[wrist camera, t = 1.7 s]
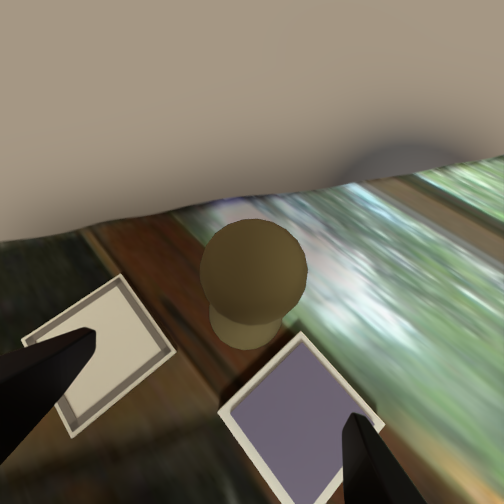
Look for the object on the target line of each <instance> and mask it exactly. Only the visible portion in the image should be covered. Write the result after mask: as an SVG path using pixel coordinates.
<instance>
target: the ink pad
mask: <svg viewBox="0 0 504 504" xmlns="http://www.w3.org/2000/svg"><path fill="white" fill-rule="evenodd" d="M352 412H356V413H359V414H362V415H365V416H366V417H367V418H368V420H369V421H370V422H371V424H372V425H373V427H374V428H375V430H376V431H377V432H378V433H379V432H380V431H381V429H382V428H383V427H384V425H385V424H384V422H383V421H382V420H381V419H380V418H379V417H378V416H377V415H376V414H375V412H374V411H373V410H372V409H371V408H370V407H369V406H368V405H367V404H366V402H365V401H364V400H363V399H362V398H361V397H360V396H359V395H358V394H357V392H356V391H355V390H354V389H353V388H352V387H351V386H350V385H349V384H348V382H347V381H346V380H345V379H344V378H343V377H342V376H341V375H340V374H339V372H338V371H337V370H336V369H335V368H334V367H333V366H332V365H331V364H330V362H329V361H328V360H327V359H326V358H325V357H324V356H323V355H322V354H321V352H320V351H319V350H318V349H317V348H316V347H315V346H314V345H313V344H312V342H311V341H310V340H309V339H308V338H307V337H306V336H305V335H304V334H303V332H302V331H300V332H298V333H297V334H296V335H295V336H294V337H293V338H292V339H291V340H290V341H289V342H288V343H287V344H286V345H285V346H284V347H283V348H282V349H281V350H280V351H279V352H278V353H277V354H276V355H274V356H273V357H272V358H271V359H270V360H269V361H268V362H267V363H266V364H265V365H264V366H263V367H262V368H261V369H260V370H259V371H258V372H257V373H256V374H255V375H254V376H253V377H252V378H251V379H250V380H249V381H248V382H247V383H246V384H245V385H244V386H242V387H241V388H240V389H239V390H238V391H237V392H236V393H235V394H234V395H233V396H232V397H231V398H230V399H229V400H228V401H227V402H226V403H225V404H224V405H223V406H222V407H221V408H220V409H219V410H218V414H219V415H220V417H221V418H222V420H223V421H224V422H225V424H226V425H227V427H228V428H229V429H230V431H231V432H232V434H233V435H234V437H235V438H236V439H237V441H238V442H239V444H240V445H241V446H242V448H243V449H244V451H245V452H246V454H247V455H248V456H249V458H250V459H251V461H252V462H253V463H254V465H255V466H256V468H257V469H258V470H259V472H260V473H261V475H262V476H263V478H264V479H265V480H266V482H267V483H268V485H269V486H270V487H271V489H272V490H273V492H274V493H275V495H276V496H277V497H278V499H279V500H280V502H281V503H282V504H325V503H326V502H327V501H328V499H329V498H330V497H331V495H332V494H333V493H334V492H335V490H336V489H337V488H338V486H339V485H340V484H341V482H342V481H343V463H342V430H343V427H344V425H345V423H346V421H347V419H348V418H349V416H350V414H351V413H352Z"/></svg>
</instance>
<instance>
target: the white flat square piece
mask: <svg viewBox="0 0 504 504" xmlns="http://www.w3.org/2000/svg"><path fill="white" fill-rule="evenodd" d="M81 327H87V328H91V329H94V330H95V331H96V350H95V353H94V354H93V356H92V357H91V359H90V360H89V361H88V363H87V364H86V365H85V367H84V368H83V369H82V371H81V372H80V373H79V375H78V376H77V377H76V379H75V380H74V381H73V383H72V384H71V385H70V387H69V388H68V389H67V391H66V392H65V393H64V394H63V396H62V397H61V398H60V399H59V400H58V402H57V403H56V404H55V405H54V406H55V408H56V410H57V411H58V413H59V415H60V417H61V419H62V421H63V423H64V425H65V427H66V429H67V431H68V433H69V435H70V437H71V438H74V437H75V436H76V435H77V434H79V433H80V432H81V431H82V430H83V429H85V428H86V427H87V426H88V425H90V424H91V423H92V422H93V421H94V420H96V419H97V418H98V417H99V416H100V415H102V414H103V413H104V412H105V411H106V410H108V409H109V408H110V407H111V406H112V405H114V404H115V403H116V402H117V401H118V400H120V399H121V398H122V397H123V396H125V395H126V394H127V393H128V392H129V391H131V390H132V389H133V388H134V387H135V386H137V385H138V384H139V383H140V382H141V381H143V380H144V379H145V378H146V377H147V376H149V375H150V374H151V373H152V372H153V371H155V370H156V369H157V368H158V367H160V366H161V365H162V364H163V363H164V362H166V361H167V360H168V359H169V358H170V357H172V356H173V355H174V354H175V353H176V352H177V351H176V350H175V349H174V347H173V346H172V344H171V343H170V342H169V340H168V339H167V337H166V336H165V335H164V333H163V332H162V330H161V329H160V327H159V326H158V325H157V323H156V322H155V320H154V319H153V318H152V316H151V315H150V313H149V312H148V311H147V309H146V308H145V306H144V305H143V304H142V302H141V301H140V299H139V298H138V296H137V295H136V294H135V292H134V291H133V289H132V288H131V287H130V285H129V284H128V282H127V281H126V280H125V278H124V277H123V275H122V274H119V275H118V276H116V277H115V278H113V279H112V280H110V281H109V282H107V283H106V284H104V285H103V286H101V287H99V288H98V289H96V290H95V291H93V292H92V293H90V294H89V295H87V296H86V297H84V298H83V299H81V300H80V301H78V302H77V303H75V304H74V305H72V306H71V307H69V308H68V309H66V310H65V311H63V312H62V313H60V314H59V315H57V316H56V317H54V318H53V319H51V320H50V321H48V322H47V323H45V324H44V325H42V326H41V327H39V328H38V329H36V330H35V331H33V332H32V333H30V334H29V335H27V336H26V337H24V338H23V339H21V341H22V343H23V345H24V347H27V346H30V345H32V344H35V343H38V342H41V341H44V340H47V339H50V338H52V337H55V336H58V335H61V334H64V333H67V332H70V331H73V330H75V329H78V328H81Z"/></svg>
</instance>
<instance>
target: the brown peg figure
mask: <svg viewBox="0 0 504 504" xmlns="http://www.w3.org/2000/svg"><path fill="white" fill-rule="evenodd" d="M307 273H308V268H307V263H306V258H305V253H304V252H303V250H302V248H301V246H300V244H299V243H298V241H297V240H296V239H295V238H294V237H293V236H292V235H291V234H290V233H289V232H288V231H287V230H286V229H284V228H282V227H281V226H279V225H277V224H275V223H273V222H270V221H266V220H261V219H244V220H240V221H237V222H234V223H231V224H228V225H227V226H225V227H224V228H222V229H221V230H220V231H218V232H217V233H215V235H214V236H213V237H212V239H211V240H210V241H209V242H208V244H207V245H206V247H205V250H204V253H203V256H202V259H201V262H200V282H201V285H202V287H203V290H204V293H205V296H206V298H207V300H208V301H209V302H210V306H209V320H210V322H211V325H212V328H213V331H214V332H215V333H216V335H217V336H218V337H219V338H220V340H221V341H223V342H224V343H226V344H227V345H229V346H231V347H233V348H237V349H241V350H248V349H256V348H259V347H261V346H263V345H265V344H267V343H268V342H269V341H270V340H271V339H272V338H273V337H274V336H275V335H276V334H277V332H278V330H279V328H280V326H281V323H282V318H283V317H284V316H285V315H286V314H287V313H288V312H289V311H290V310H291V309H292V308H294V307H295V306H296V305H297V304H298V302H299V300H300V298H301V296H302V294H303V292H304V290H305V287H306V280H307Z"/></svg>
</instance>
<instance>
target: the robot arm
mask: <svg viewBox="0 0 504 504" xmlns="http://www.w3.org/2000/svg"><path fill="white" fill-rule="evenodd" d="M95 350H96V331H95V330H94V329H91V328H87V327H81V328H78V329H75V330H73V331H70V332H67V333H64V334H61V335H58V336H55V337H52V338H50V339H47V340H44V341H41V342H38V343H35V344H32V345H30V346H27V347H24V348H21V349H18V350H15V351H12V352H10V353H7V354H4V355H1V356H0V465H1V464H2V463H3V462H4V461H5V460H6V458H7V457H8V456H9V455H10V454H11V453H12V452H13V451H14V450H15V448H16V447H17V446H18V445H19V444H20V443H21V442H22V441H23V440H24V438H25V437H26V436H27V435H28V434H29V433H30V432H31V431H32V429H33V428H34V427H35V426H36V425H37V424H38V423H39V422H40V421H41V419H42V418H43V417H44V416H45V415H46V414H47V413H48V412H49V411H50V409H51V408H52V407H53V406H54V405H55V404H56V403H57V402H58V400H59V399H60V398H61V397H62V396H63V394H64V393H65V392H66V391H67V389H68V388H69V387H70V385H71V384H72V383H73V381H74V380H75V379H76V377H77V376H78V375H79V373H80V372H81V371H82V369H83V368H84V367H85V365H86V364H87V363H88V361H89V360H90V359H91V357H92V356H93V354H94V353H95ZM342 463H343V490H344V500H345V504H427V502H426V501H425V499H424V498H423V497H422V495H421V494H420V492H419V491H418V489H417V488H416V487H415V485H414V484H413V482H412V481H411V479H410V478H409V477H408V475H407V474H406V472H405V471H404V469H403V468H402V467H401V465H400V464H399V462H398V461H397V460H396V458H395V457H394V455H393V454H392V452H391V451H390V450H389V448H388V447H387V445H386V444H385V442H384V441H383V440H382V438H381V437H380V435H379V434H378V432H377V431H376V430H375V428H374V427H373V425H372V424H371V422H370V421H369V420H368V418H367V417H366V416H365V415H362V414H359V413H356V412H352V413H351V414H350V416H349V418H348V419H347V421H346V423H345V425H344V427H343V430H342Z"/></svg>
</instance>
